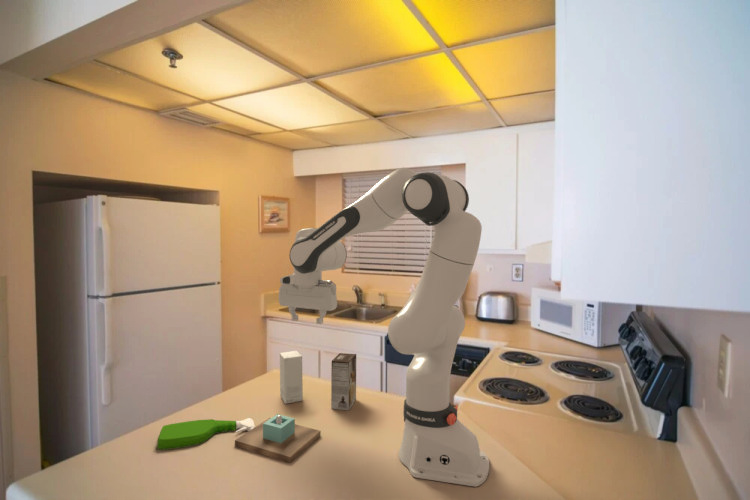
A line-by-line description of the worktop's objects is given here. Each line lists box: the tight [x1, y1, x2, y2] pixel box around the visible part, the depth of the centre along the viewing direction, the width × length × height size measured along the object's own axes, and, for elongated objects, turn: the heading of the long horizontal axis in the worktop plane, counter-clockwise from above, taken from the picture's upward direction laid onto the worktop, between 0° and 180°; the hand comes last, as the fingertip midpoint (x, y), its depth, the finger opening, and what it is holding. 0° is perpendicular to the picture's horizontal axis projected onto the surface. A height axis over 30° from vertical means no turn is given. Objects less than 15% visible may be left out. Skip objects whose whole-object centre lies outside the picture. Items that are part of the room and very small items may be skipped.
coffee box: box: [330, 352, 357, 411], centre depth 124 cm, size 9×6×16 cm
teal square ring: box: [263, 414, 296, 443], centre depth 101 cm, size 6×6×4 cm
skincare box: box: [279, 350, 304, 405], centre depth 129 cm, size 8×7×16 cm
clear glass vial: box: [276, 414, 283, 425], centre depth 101 cm, size 2×2×6 cm
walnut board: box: [234, 417, 322, 464], centre depth 101 cm, size 18×14×2 cm
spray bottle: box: [157, 417, 256, 451], centre depth 104 cm, size 3×11×24 cm
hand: (307, 322), depth 118 cm, fingers open, 8 cm apart
